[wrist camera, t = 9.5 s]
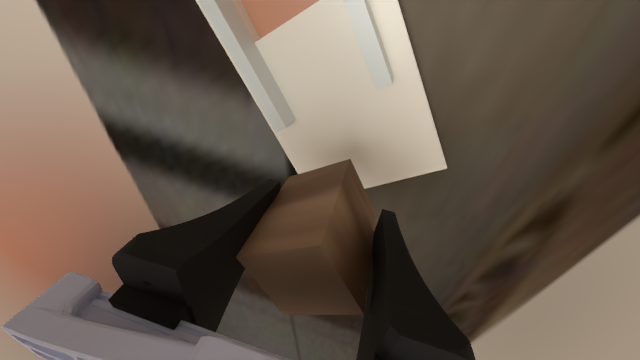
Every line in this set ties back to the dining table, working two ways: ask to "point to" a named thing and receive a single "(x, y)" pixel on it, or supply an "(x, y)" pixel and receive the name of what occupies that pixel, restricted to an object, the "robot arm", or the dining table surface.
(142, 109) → the dining table surface
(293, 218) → the walnut block
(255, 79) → the channel
